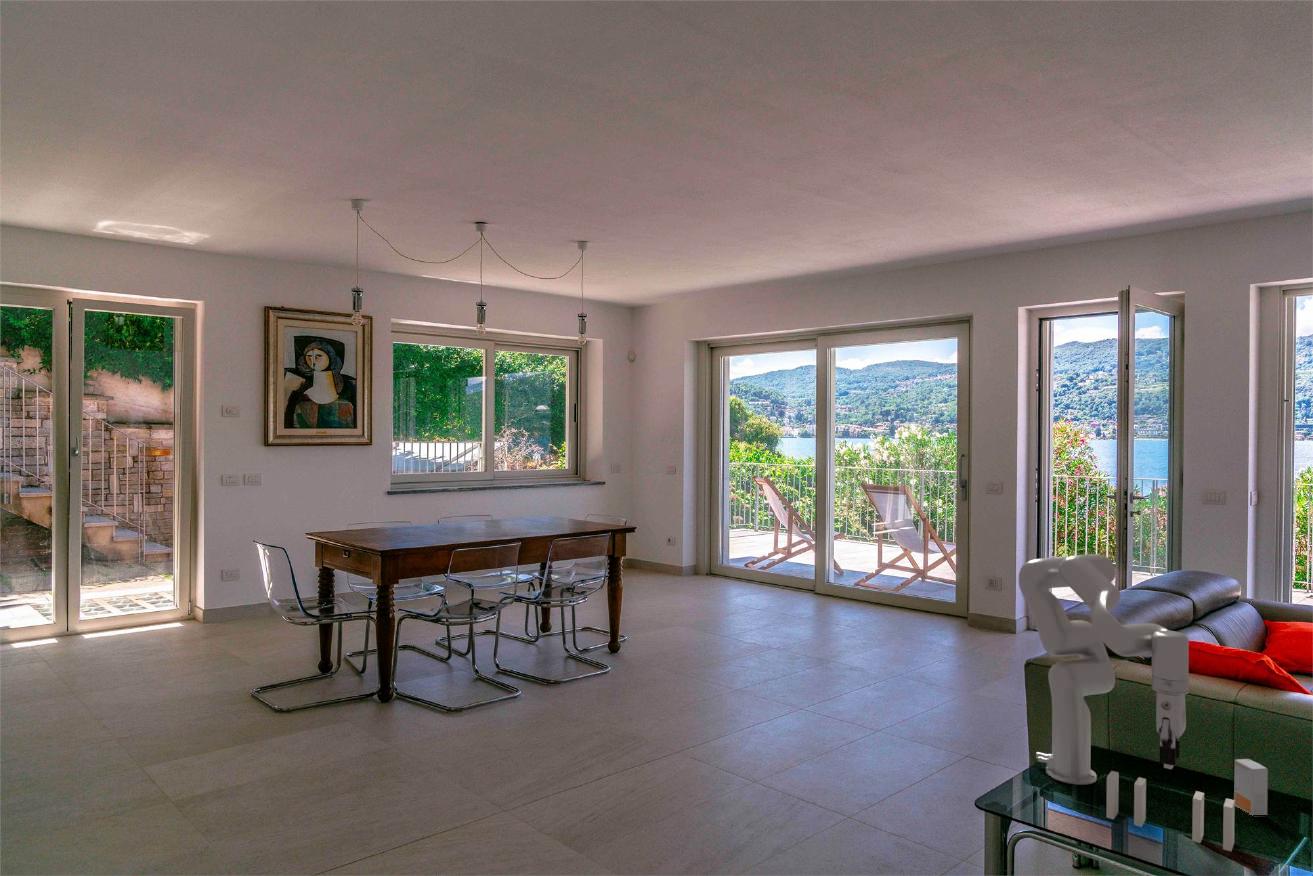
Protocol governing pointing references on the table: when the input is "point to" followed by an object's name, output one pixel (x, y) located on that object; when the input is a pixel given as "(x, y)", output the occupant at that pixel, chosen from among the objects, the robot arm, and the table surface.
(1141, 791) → the domino
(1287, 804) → the table surface
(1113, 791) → the domino
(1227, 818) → the domino
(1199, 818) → the domino
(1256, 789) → the skincare box
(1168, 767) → the domino
